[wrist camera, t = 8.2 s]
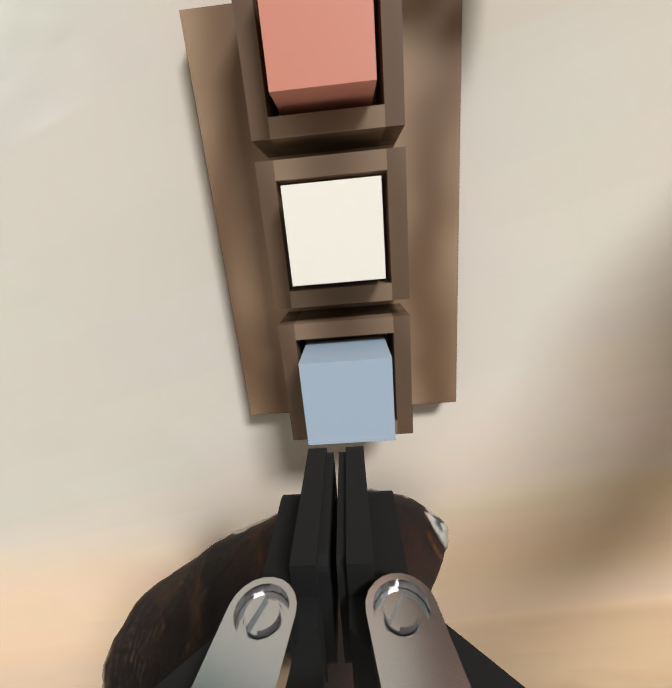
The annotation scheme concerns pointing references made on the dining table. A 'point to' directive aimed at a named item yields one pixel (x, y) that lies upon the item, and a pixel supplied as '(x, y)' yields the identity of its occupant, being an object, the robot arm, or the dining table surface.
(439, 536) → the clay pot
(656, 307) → the dining table surface
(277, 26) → the brick key
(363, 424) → the slate key
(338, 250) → the ivory key
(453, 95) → the keypad
